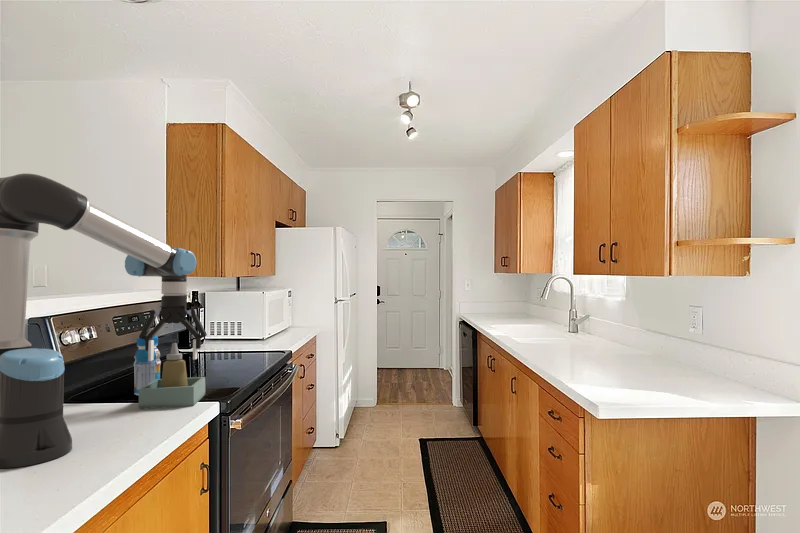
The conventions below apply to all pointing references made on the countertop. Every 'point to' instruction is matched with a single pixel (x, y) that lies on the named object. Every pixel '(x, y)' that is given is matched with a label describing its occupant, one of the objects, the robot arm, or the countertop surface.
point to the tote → (171, 394)
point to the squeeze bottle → (174, 370)
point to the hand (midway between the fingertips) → (173, 359)
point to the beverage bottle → (145, 365)
